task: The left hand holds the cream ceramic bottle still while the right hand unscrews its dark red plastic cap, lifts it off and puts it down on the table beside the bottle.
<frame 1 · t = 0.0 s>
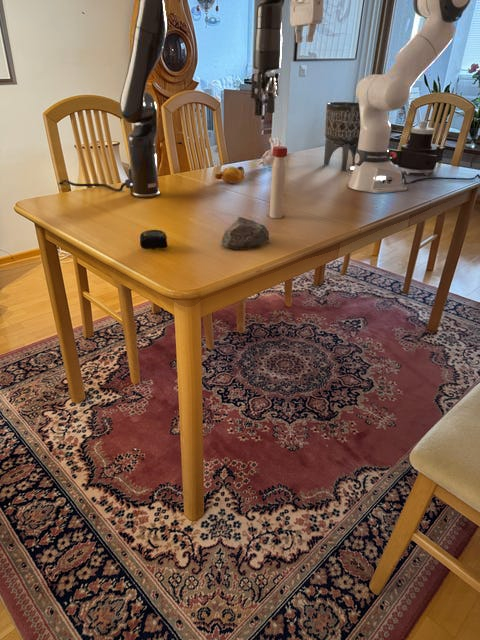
left hand: (264, 114, 131), 29 cm above the table, tool pointing down, fingers open, 8 cm apart
right hand: (304, 42, 147), 48 cm above the table, tool pointing down, fingers open, 8 cm apart
mechanical component: (418, 170, 207), on the table
bottle: (276, 216, 144), on the table
figurine: (270, 167, 206), on the table
cap: (280, 148, 133), point 20 cm above the table, screwed on, not yet turned
tape measure: (155, 248, 118), on the table
rock: (247, 244, 122), on the table
planter: (341, 167, 211), on the table
toy: (232, 181, 182), on the table
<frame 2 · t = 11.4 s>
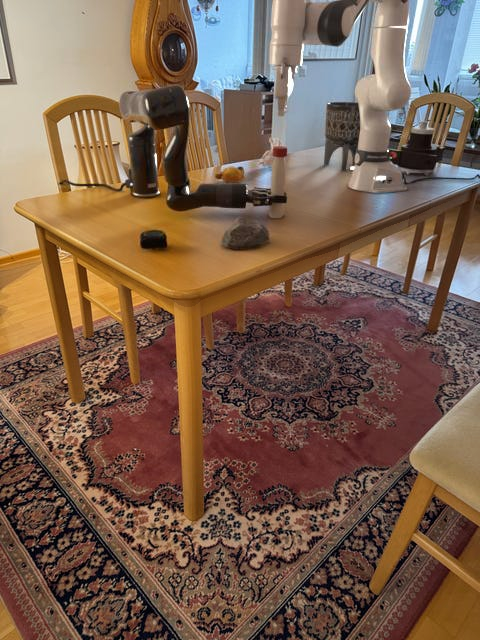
left hand: (285, 197, 140), 6 cm above the table, tool horizontal, fingers closed on bottle, 4 cm apart
right hand: (282, 114, 129), 30 cm above the table, tool pointing down, fingers open, 6 cm apart
bottle: (276, 216, 144), on the table, touching left hand
everything else where it was.
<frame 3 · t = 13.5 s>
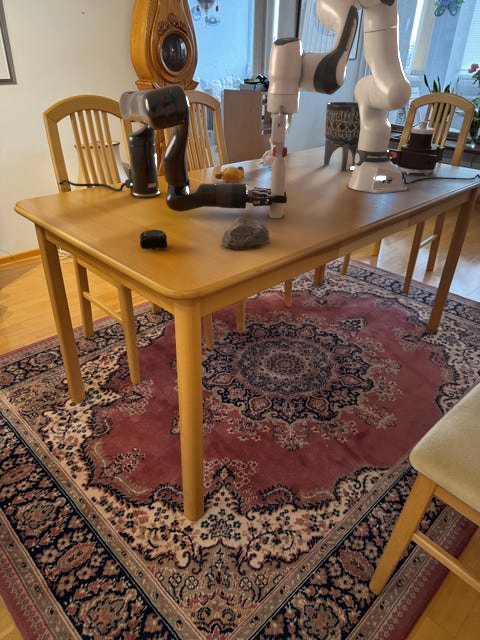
left hand: (285, 197, 140), 6 cm above the table, tool horizontal, fingers closed on bottle, 4 cm apart
right hand: (279, 156, 134), 18 cm above the table, tool pointing down, fingers closed on cap, 4 cm apart
bottle: (276, 216, 144), on the table, touching left hand
cap: (280, 148, 133), point 20 cm above the table, screwed on, not yet turned, touching right hand
everything else where it was.
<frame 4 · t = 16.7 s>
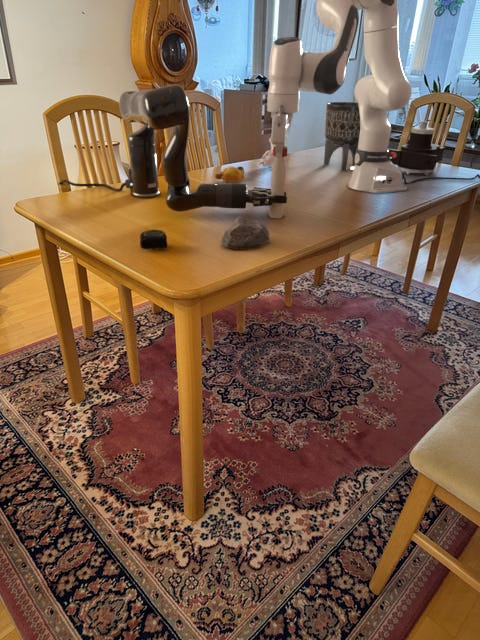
left hand: (285, 197, 140), 6 cm above the table, tool horizontal, fingers closed on bottle, 4 cm apart
right hand: (279, 156, 134), 18 cm above the table, tool pointing down, fingers closed on cap, 4 cm apart
bottle: (275, 216, 143), on the table, touching left hand
cap: (280, 148, 133), point 21 cm above the table, turned 84° so far, risen 0.1 cm, still on its thread, touching right hand
everything else where it was.
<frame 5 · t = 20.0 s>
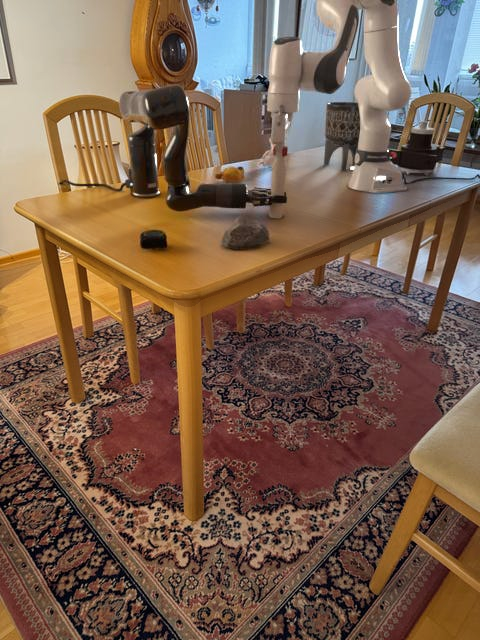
left hand: (285, 197, 140), 6 cm above the table, tool horizontal, fingers closed on bottle, 4 cm apart
right hand: (279, 156, 134), 18 cm above the table, tool pointing down, fingers closed on cap, 4 cm apart
bottle: (275, 216, 143), on the table, touching left hand
cap: (280, 147, 133), point 21 cm above the table, turned 168° so far, risen 0.2 cm, still on its thread, touching right hand
everything else where it was.
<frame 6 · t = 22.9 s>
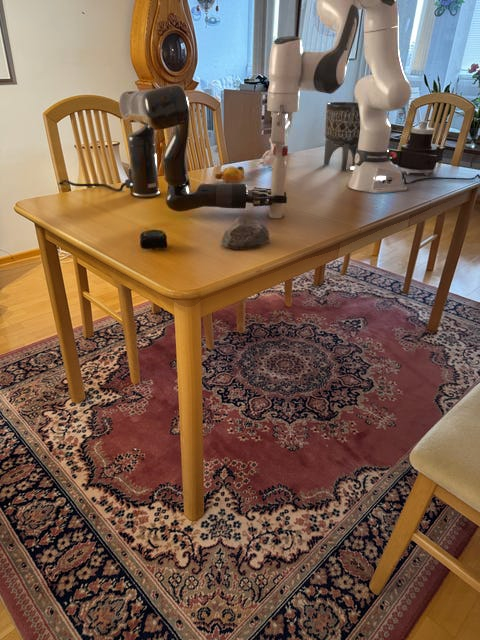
left hand: (285, 197, 140), 6 cm above the table, tool horizontal, fingers closed on bottle, 4 cm apart
right hand: (279, 155, 134), 18 cm above the table, tool pointing down, fingers closed on cap, 4 cm apart
bottle: (275, 216, 143), on the table, touching left hand
cap: (280, 147, 133), point 21 cm above the table, turned 251° so far, risen 0.3 cm, still on its thread, touching right hand
everything else where it was.
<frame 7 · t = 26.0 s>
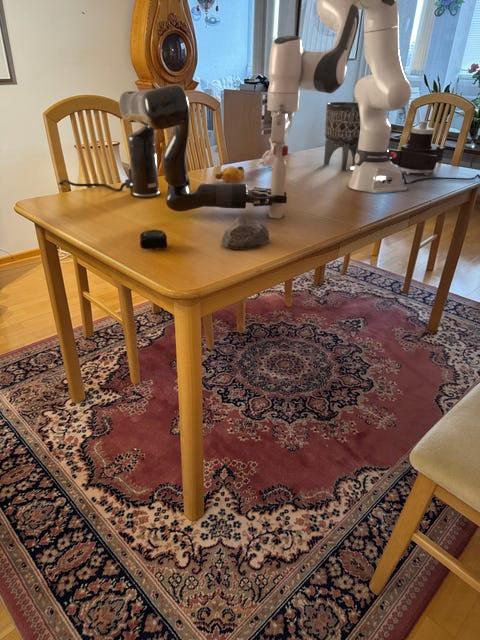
left hand: (285, 197, 140), 6 cm above the table, tool horizontal, fingers closed on bottle, 4 cm apart
right hand: (279, 155, 134), 18 cm above the table, tool pointing down, fingers closed on cap, 4 cm apart
bottle: (275, 216, 143), on the table, touching left hand
cap: (280, 147, 133), point 21 cm above the table, turned 335° so far, risen 0.4 cm, still on its thread, touching right hand
everything else where it was.
when the right hand's fingers open (2 cm above the table, at t = 31.9 s): cap drops 2 cm, point 2 cm above the table.
when the left hand's fingers open (6 cm above the table, at t = 33.0 s): bottle stays where it is, on the table.
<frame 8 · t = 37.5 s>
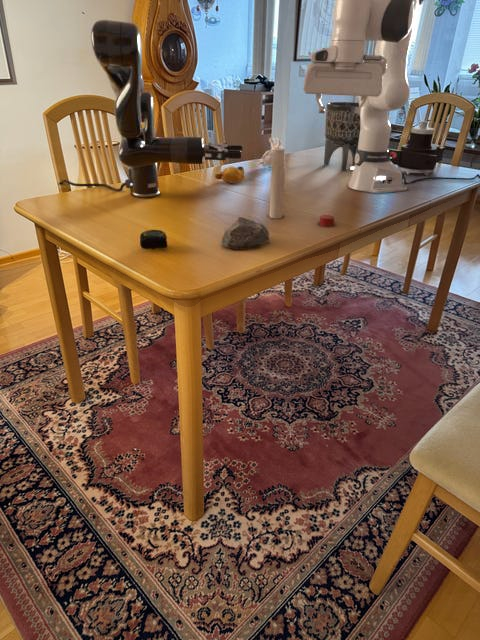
left hand: (241, 151, 134), 19 cm above the table, tool horizontal, fingers open, 8 cm apart
right hand: (339, 114, 122), 31 cm above the table, tool pointing down, fingers open, 8 cm apart
bottle: (275, 216, 143), on the table
cap: (327, 217, 136), point 2 cm above the table, off its thread
everything else where it was.
at the end: cap came off its thread; cap point 2.1 cm above the table; the left hand is holding nothing; the right hand is holding nothing; bottle tilted 0°; bottle moved 0.2 cm from its start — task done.
